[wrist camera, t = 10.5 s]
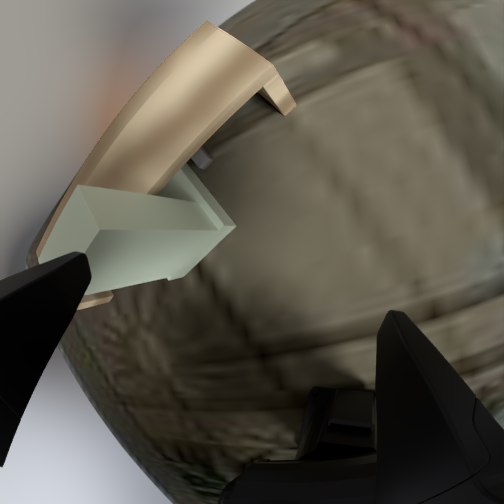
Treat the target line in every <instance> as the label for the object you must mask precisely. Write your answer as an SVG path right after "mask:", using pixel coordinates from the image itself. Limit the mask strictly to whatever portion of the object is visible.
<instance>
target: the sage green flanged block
mask: <svg viewBox="0 0 504 504" xmlns="http://www.w3.org/2000/svg"><path fill="white" fill-rule="evenodd" d="M235 227H236V225H235V223H234V222H233V221H232V220H231V218H230V217H229V216H228V215H227V213H226V212H225V211H224V209H223V208H222V207H221V206H220V204H219V203H218V202H217V201H216V199H215V198H214V197H213V196H212V194H211V193H210V192H209V191H208V189H207V188H206V187H205V185H204V184H203V183H202V182H201V180H200V179H199V178H198V177H197V175H196V174H195V173H194V172H193V170H192V169H191V168H190V167H189V165H188V164H187V163H185V164H184V165H183V166H182V168H181V169H180V170H179V171H178V172H177V173H176V174H175V175H174V176H173V178H172V179H171V180H170V181H169V182H168V183H167V184H166V186H165V187H164V188H163V189H162V190H161V191H160V193H159V194H158V195H157V196H154V195H148V194H141V193H135V192H128V191H121V190H114V189H107V188H100V187H92V186H85V185H77V187H76V188H75V190H74V192H73V193H72V195H71V197H70V199H69V200H68V202H67V204H66V206H65V207H64V209H63V211H62V213H61V215H60V216H59V218H58V220H57V222H56V224H55V226H54V228H53V230H52V232H51V234H50V236H49V238H48V240H47V242H46V244H45V246H44V248H43V250H42V252H41V254H40V256H39V259H38V261H39V264H42V263H44V262H47V261H50V260H52V259H55V258H57V257H60V256H63V255H65V254H68V253H71V252H74V251H78V252H82V253H85V254H86V255H87V257H88V261H89V266H90V270H91V274H92V279H91V282H90V284H89V286H88V288H87V290H86V292H85V294H84V295H89V294H94V293H98V292H103V291H108V290H112V289H117V288H122V287H126V286H131V285H136V284H140V283H145V282H150V281H154V280H159V279H163V278H167V279H168V281H169V280H173V279H177V278H182V277H184V276H185V275H186V274H187V273H188V272H189V271H190V270H191V269H192V268H193V267H194V266H195V265H196V264H197V263H198V262H200V261H201V260H202V259H203V258H204V257H205V256H206V255H207V254H208V253H209V252H210V251H211V250H212V249H213V248H214V247H215V246H216V245H217V244H218V243H219V242H220V241H221V240H223V239H224V238H225V237H226V236H227V235H228V234H229V233H230V232H231V231H232V230H233V229H234V228H235Z"/></svg>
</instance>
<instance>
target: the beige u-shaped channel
mask: <svg viewBox="0 0 504 504" xmlns="http://www.w3.org/2000/svg"><path fill="white" fill-rule="evenodd" d="M256 92H258V93H259V94H261V95H262V96H263V97H264V98H265V99H266V100H267V101H269V102H270V103H271V104H272V105H273V106H274V107H275V108H276V109H277V110H278V111H280V112H281V113H282V114H283V115H284V116H285V115H287V114H288V113H289V112H290V111H291V110H292V109H293V108H294V107H296V106H297V105H296V103H295V101H294V100H293V98H292V96H291V94H290V92H289V91H288V89H287V87H286V86H285V84H284V82H283V80H282V79H281V77H280V75H279V74H278V72H277V70H276V69H275V67H274V66H273V64H271V63H270V62H269V61H267V60H266V59H264V58H263V57H262V56H260V55H259V54H258V53H256V52H255V51H253V50H252V49H250V48H249V47H248V46H246V45H245V44H243V43H242V42H240V41H239V40H237V39H236V38H234V37H233V36H231V35H229V34H228V33H226V32H225V31H223V30H222V29H220V28H218V27H217V26H215V25H213V24H212V23H210V22H208V21H206V22H205V23H204V24H202V25H201V26H200V27H199V28H198V29H197V30H196V31H195V32H194V33H192V34H191V35H190V36H189V37H188V38H187V39H186V40H185V41H184V42H183V43H182V44H181V45H180V46H179V47H178V48H177V49H176V50H175V51H174V52H173V53H172V54H171V55H170V56H169V57H168V58H167V59H166V60H165V61H164V62H163V63H162V64H161V65H160V66H159V67H158V68H157V69H156V70H155V71H154V72H153V74H152V75H151V76H150V77H149V78H148V79H147V80H146V81H145V83H144V84H143V85H142V86H141V87H140V88H139V89H138V91H137V92H136V93H135V94H134V95H133V97H132V98H131V99H130V100H129V101H128V103H127V104H126V105H125V106H124V108H123V109H122V110H121V111H120V113H119V114H118V115H117V117H116V118H115V119H114V121H113V122H112V123H111V125H110V126H109V127H108V129H107V130H106V132H105V133H104V134H103V136H102V137H101V138H100V140H99V141H98V143H97V144H96V146H95V147H94V149H93V150H92V152H91V153H90V154H89V156H88V158H87V159H86V161H85V162H84V164H83V165H82V167H81V168H80V170H79V172H78V173H77V175H76V177H75V178H74V180H73V182H72V183H71V185H70V187H69V188H68V190H67V192H66V194H65V195H64V197H63V199H62V201H61V203H60V204H59V206H58V208H57V210H56V212H55V214H54V216H53V218H52V220H51V221H50V223H49V225H48V227H47V230H46V232H45V234H44V236H43V238H42V240H41V242H40V244H39V246H38V249H37V251H36V254H37V257H38V259H39V256H40V254H41V252H42V250H43V248H44V246H45V244H46V242H47V240H48V238H49V236H50V234H51V232H52V230H53V228H54V226H55V224H56V222H57V220H58V218H59V216H60V215H61V213H62V211H63V209H64V207H65V206H66V204H67V202H68V200H69V199H70V197H71V195H72V193H73V192H74V190H75V188H76V187H77V185H85V186H92V187H100V188H107V189H114V190H121V191H128V192H135V193H141V194H148V195H154V196H157V195H158V194H159V193H160V191H161V190H162V189H163V188H164V187H165V186H166V184H167V183H168V182H169V181H170V180H171V179H172V178H173V176H174V175H175V174H176V173H177V172H178V171H179V170H180V169H181V168H182V166H183V165H184V164H185V163H186V162H187V161H188V160H189V159H190V158H191V159H192V160H193V161H194V163H195V164H196V165H197V166H198V167H199V168H201V169H204V170H206V169H207V168H208V167H209V166H210V165H211V164H212V163H213V162H214V160H213V159H212V157H211V156H210V155H209V154H208V153H207V152H206V150H205V149H204V148H203V147H202V145H203V144H204V143H205V142H206V141H207V140H208V139H209V138H210V137H211V136H212V135H213V134H214V133H215V132H216V131H217V130H218V129H219V128H220V127H221V126H222V125H223V124H224V123H225V122H226V121H227V120H228V119H229V118H230V117H231V116H232V115H233V114H234V113H235V112H236V111H237V110H238V109H239V108H240V107H241V106H242V105H243V104H244V103H246V102H247V101H248V100H249V99H250V98H251V97H252V96H253V95H254V94H255V93H256ZM113 296H114V294H113V293H112V291H111V290H108V291H103V292H98V293H94V294H89V295H84V296H83V298H82V300H81V302H80V304H79V306H78V308H77V310H80V309H84V308H88V307H92V306H96V305H100V304H104V303H108V302H109V301H110V300H111V299H112V297H113Z"/></svg>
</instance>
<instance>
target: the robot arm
mask: <svg viewBox="0 0 504 504" xmlns="http://www.w3.org/2000/svg"><path fill="white" fill-rule="evenodd" d="M91 279H92V274H91V270H90V266H89V261H88V257H87V255H86V254H85V253H82V252H78V251H74V252H71V253H68V254H65V255H63V256H60V257H57V258H55V259H52V260H50V261H47V262H44V263H42V264H39V265H37V266H34V267H32V268H29V269H27V270H24V271H22V272H19V273H17V274H14V275H12V276H10V277H7V278H5V279H2V280H0V467H3V465H4V463H5V460H6V457H7V454H8V451H9V448H10V446H11V443H12V441H13V438H14V436H15V433H16V430H17V428H18V426H19V423H20V421H21V418H22V416H23V413H24V411H25V409H26V407H27V404H28V402H29V400H30V398H31V395H32V394H33V391H34V389H35V387H36V385H37V383H38V381H39V379H40V377H41V375H42V373H43V371H44V369H45V367H46V365H47V363H48V361H49V360H50V358H51V356H52V354H53V352H54V350H55V348H56V347H57V345H58V343H59V341H60V340H61V338H62V336H63V334H64V333H65V331H66V329H67V327H68V326H69V324H70V322H71V320H72V319H73V317H74V315H75V313H76V310H77V308H78V306H79V304H80V302H81V300H82V298H83V296H84V294H85V292H86V290H87V288H88V286H89V284H90V282H91ZM375 391H376V394H373V393H372V392H363V391H355V390H347V389H337V390H336V389H329V388H323V387H313V388H311V390H310V392H309V395H308V401H307V406H306V411H305V416H304V421H303V425H302V430H301V435H300V439H299V444H298V452H297V454H296V457H295V459H294V460H274V461H270V459H260V460H259V461H258V462H256V463H252V464H251V465H249V466H248V467H247V468H246V469H244V471H243V472H242V474H241V475H239V476H238V477H236V478H235V479H234V480H232V481H231V482H230V483H228V484H227V485H226V487H225V488H224V489H223V491H222V492H221V495H220V497H219V501H218V504H504V430H503V428H502V427H501V426H500V425H499V424H498V423H497V421H496V420H495V419H494V418H493V417H492V415H491V414H490V413H489V412H488V410H487V409H486V408H485V407H484V405H483V404H482V403H481V401H480V400H479V399H478V398H476V395H475V394H474V393H473V391H472V390H471V389H470V388H469V386H468V385H467V384H466V383H465V382H464V380H463V379H462V378H461V377H460V375H459V374H458V373H457V372H456V371H455V369H454V368H453V367H452V366H451V365H450V364H449V362H448V361H447V360H446V359H445V358H444V356H443V355H442V354H441V353H440V352H439V351H438V350H437V348H436V347H435V346H434V345H433V344H432V343H431V342H430V340H429V339H428V338H427V337H426V336H425V335H424V334H423V333H422V332H421V330H420V329H419V328H418V327H417V326H416V325H415V324H414V323H413V322H412V321H411V319H410V318H409V317H408V316H407V315H406V314H405V313H404V312H402V311H396V310H390V311H388V313H387V314H386V316H385V319H384V321H383V323H382V325H381V327H380V329H379V331H378V334H377V352H376V380H375ZM314 392H317V393H318V394H319V395H314V394H313V393H314Z"/></svg>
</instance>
